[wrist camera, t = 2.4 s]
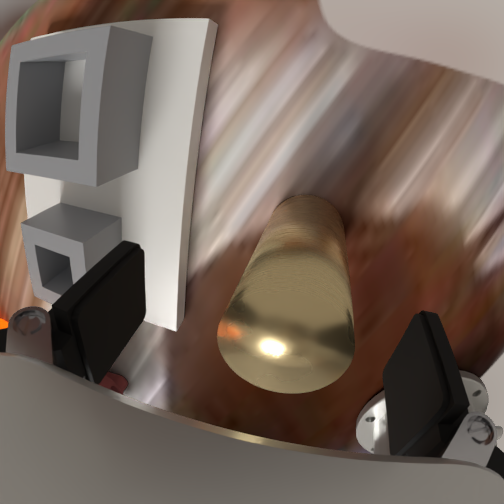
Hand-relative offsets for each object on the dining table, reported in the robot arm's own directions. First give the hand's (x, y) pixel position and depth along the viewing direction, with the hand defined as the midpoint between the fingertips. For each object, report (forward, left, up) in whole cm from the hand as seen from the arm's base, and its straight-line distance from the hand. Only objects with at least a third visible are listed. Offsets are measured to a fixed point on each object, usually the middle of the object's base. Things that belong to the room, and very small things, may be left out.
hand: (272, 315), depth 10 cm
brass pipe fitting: (-1, +1, -9) cm, 9 cm away
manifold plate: (+13, 0, -9) cm, 16 cm away
